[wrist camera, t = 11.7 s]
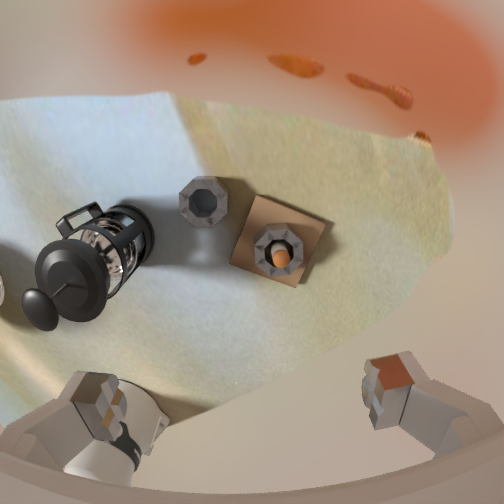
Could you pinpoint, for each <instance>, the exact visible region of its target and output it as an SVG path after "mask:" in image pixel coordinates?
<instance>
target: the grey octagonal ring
mask: <svg viewBox="0 0 504 504" xmlns="http://www.w3.org/2000/svg"><path fill="white" fill-rule="evenodd" d="M197 189H209V190H210V191H211V192H212V193H213V194H214V195H215V196H216V197H217V207H216V208H215V209H214V210H213V211H212V212H201V211H200V210H199V209H198V208H197V207H196V206H195V205H194V204H193V193H194V192H195V191H196V190H197ZM228 209H229V189H228V188H227V187H226V186H225V185H224V184H223V183H222V182H221V181H220V180H219V179H218V178H217V177H196V178H194V179H193V180H192V181H191V182H190V183H189V184H188V185H187V186H186V187H185V188H184V189H183V190H182V191H181V192H180V193H179V213H180V214H181V215H182V216H183V217H184V218H185V219H186V220H187V221H188V222H189V223H190V224H191V225H192V226H193V227H213V226H214V225H215V224H216V223H217V222H219V221H220V220H221V219H222V218H223V217H224V216H225V215H226V214H227V212H228Z"/></svg>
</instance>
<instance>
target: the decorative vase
mask: <svg viewBox="0 0 504 504" xmlns="http://www.w3.org/2000/svg"><path fill="white" fill-rule="evenodd" d="M3 300H4V285H3V281H2V278H1V275H0V306H1V304H2V303H3Z"/></svg>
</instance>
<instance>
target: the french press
mask: <svg viewBox="0 0 504 504" xmlns="http://www.w3.org/2000/svg"><path fill="white" fill-rule="evenodd" d="M85 211H89V213H90V214H91V216H92V217H93V219H91V220H89V221H88V222H86V223H84V224H82V225H80V226H79V227H77V228H75V229H73V228H72V226H71V224H70V223H69V221H68V220H69V219H71V218H73V217H75V216H77V215H79V214H81V213H83V212H85ZM117 214H125V215H127V216H129V217H130V218H132V219H133V220H134V222H133V223H131V224H130V225H129V226H127V227H126V226H125V225H123V224H122V223H120V222H118V221H116V220H113V219H110V218H111V217H112V216H114V215H117ZM56 227H57V229H58V230H59V232H60V233H61V235H62V236H63V239H62V240H58V241H54V242H52V243H50V244H48V245H47V246H45V247H44V248H43V249H42V251H41V252H40V253H39V256H38V258H37V261H36V266H35V275H36V282H37V285H38V288H39V290H38V289H35V288H31V289H28V290H26V291H25V292H24V294H23V296H22V308H23V311H24V313H25V315H26V317H27V318H28V320H29V321H30V322H31V323H32V324H33V325H34V326H35V327H36V328H38V329H40V330H42V331H52V330H54V329H55V328H56V327H57V325H58V321H59V317H58V314H59V315H60V316H62V317H63V318H66V319H68V320H70V321H74V322H87V321H91V320H93V319H95V318H96V317H97V316H98V315H100V313H101V312H102V311H103V309H104V308H105V305H106V302H107V300H108V299H110V298H111V297H113V296H114V295H115V294H116V293H117V292H118V291H119V290H120V288H121V287H122V286H123V285H124V283H125V282H126V281H127V280H128V278H129V277H130V276H131V275H132V274H133V272H134V271H135V270H136V269H137V268H138V266H139V265H140V264H141V263H143V262H144V261H145V260H146V259H147V258H148V257H149V255H150V254H151V252H152V250H153V246H154V230H153V228H152V225H151V223H150V221H149V219H148V218H147V217H146V215H145V214H144V213H143V212H141V211H140V210H139V209H137V208H135V207H133V206H130V205H123V204H122V205H115V206H113V207H110V208H109V209H107V210H106V211H105V212H104V213H103V211H102V210H101V208H100V206H99V205H98V203H97V202H93V203H91V204H89V205H86V206H84V207H82V208H80V209H77V210H75V211H73V212H71V213H69V214H67V215H65V216H63V217H62V218H61V219H60V220H59V221H58V222H57V223H56ZM81 229H84V231H83V232H82V235H81V239H80V240H77V239H68V237H69V236H71V235H72V234H74V233H76V232H77V231H79V230H81ZM141 233H143V236H144V240H145V244H144V248H143V250H142V251H141V253H140V254H139V255H138V256H137V245H136V241H135V238H136V237H137V236H138V235H139V234H141ZM119 279H121V281H120V282H119V284H118V285H117V286H116V287H115V288H114V289H113V291H112V292H111V293H110V294H108V290H109V287H110V280H119Z"/></svg>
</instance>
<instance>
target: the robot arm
mask: <svg viewBox="0 0 504 504" xmlns="http://www.w3.org/2000/svg"><path fill="white" fill-rule="evenodd" d="M364 370H365V372H366V376H365V377H364V378H363V380H362V397H363V401H364V404H365V406H366V407H368V408H369V409H370V414H369V417H370V419H371V422H372V424H373V427H374V430H378V429H383V428H388V427H393V426H397V425H399V427H401V428H402V429H403V430H405V431H406V432H408V433H409V434H410V435H412V436H413V437H414V438H416V439H417V440H418V441H420V442H421V443H422V444H424V445H425V446H426V447H428V448H429V449H431V450H432V451H433V452H435V453H436V454H435V456H434V457H433V459H432V460H430V461H427V462H424V463H421V464H418V465H414V466H412V467H408V468H405V469H401V470H398V471H394V472H390V473H386V474H383V475H379V476H374V477H370V478H366V479H361V480H357V481H352V482H347V483H341V484H336V485H330V486H324V487H317V488H310V489H302V490H293V491H282V492H269V493H253V494H252V493H250V494H202V493H184V492H171V491H160V490H152V489H144V488H137V487H130V484H131V481H132V477H133V473H134V472H135V471H136V470H137V468H138V466H139V464H140V461H141V455H142V454H145V455H147V456H149V455H150V453H151V451H152V448H153V442H154V441H155V440H156V439H157V438H158V436H159V435H160V434H161V433H162V432H163V431H164V429H165V428H166V427H167V426H168V424H169V422H170V419H169V418H168V417H167V416H166V415H165V414H164V413H163V412H161V410H160V409H159V407H158V405H157V404H156V402H155V401H154V400H153V398H152V397H151V396H150V395H148V394H147V393H146V392H145V391H143V390H142V389H140V388H139V387H137V386H135V385H133V384H130V383H128V382H125V381H121V380H118V378H117V376H116V375H114V374H107V373H96V372H83V371H77V372H74V374H73V375H72V377H71V378H70V380H69V381H68V383H67V385H66V386H65V388H64V389H63V391H62V392H61V394H60V395H59V397H58V399H53V400H51V401H49V402H48V403H46V404H44V405H42V406H41V407H39V408H37V409H35V410H34V411H32V412H30V413H28V414H27V415H25V416H23V417H21V418H20V419H18V420H16V421H14V422H13V423H11V424H9V425H7V427H6V428H5V430H4V431H3V433H2V434H1V436H0V504H504V424H503V422H502V421H501V419H500V418H499V417H498V415H497V414H496V412H495V411H494V410H493V408H492V407H491V405H490V404H488V403H485V402H483V401H481V400H479V399H476V398H474V397H472V396H470V395H468V394H465V393H463V392H461V391H459V390H457V389H454V388H452V387H450V386H448V385H446V384H443V383H441V382H439V381H437V380H434V379H433V380H430V379H429V377H428V376H427V375H426V373H425V372H424V370H423V369H422V367H421V365H420V364H419V363H418V361H417V360H416V358H415V357H414V355H413V354H412V352H410V351H406V352H401V353H396V354H393V355H388V356H383V357H378V358H372V359H367V360H366V362H365V367H364ZM66 464H67V465H66ZM65 465H66V467H65V469H64V471H63V470H62V468H63V467H64V466H65Z"/></svg>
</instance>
